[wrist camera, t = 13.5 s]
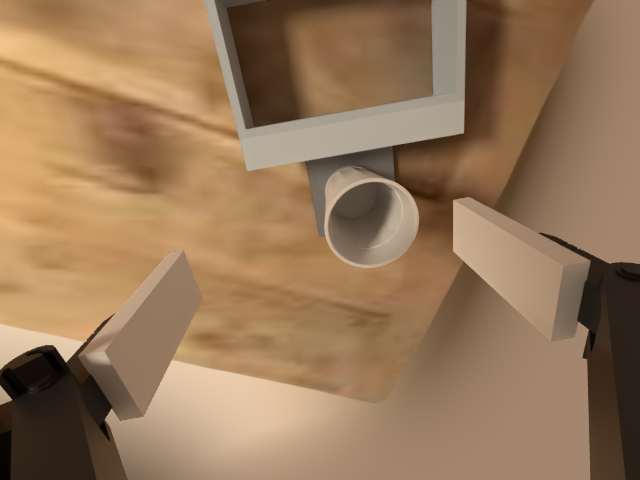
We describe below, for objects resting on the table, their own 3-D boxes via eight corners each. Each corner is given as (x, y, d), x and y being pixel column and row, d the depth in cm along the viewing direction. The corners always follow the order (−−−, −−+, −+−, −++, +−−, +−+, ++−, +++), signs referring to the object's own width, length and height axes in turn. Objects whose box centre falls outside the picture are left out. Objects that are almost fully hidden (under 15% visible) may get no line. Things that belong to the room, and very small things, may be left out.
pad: (305, 155, 36) (305, 156, 35) (390, 140, 35) (392, 141, 35) (319, 235, 39) (319, 236, 39) (396, 221, 39) (397, 223, 39)
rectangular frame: (206, -40, 28) (185, -74, 23) (438, -84, 28) (468, -127, 23) (255, 162, 36) (247, 171, 30) (440, 130, 35) (463, 133, 30)
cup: (393, 205, 38) (431, 244, 27) (335, 233, 39) (348, 281, 28) (369, 145, 35) (399, 160, 24) (306, 177, 36) (307, 205, 25)
